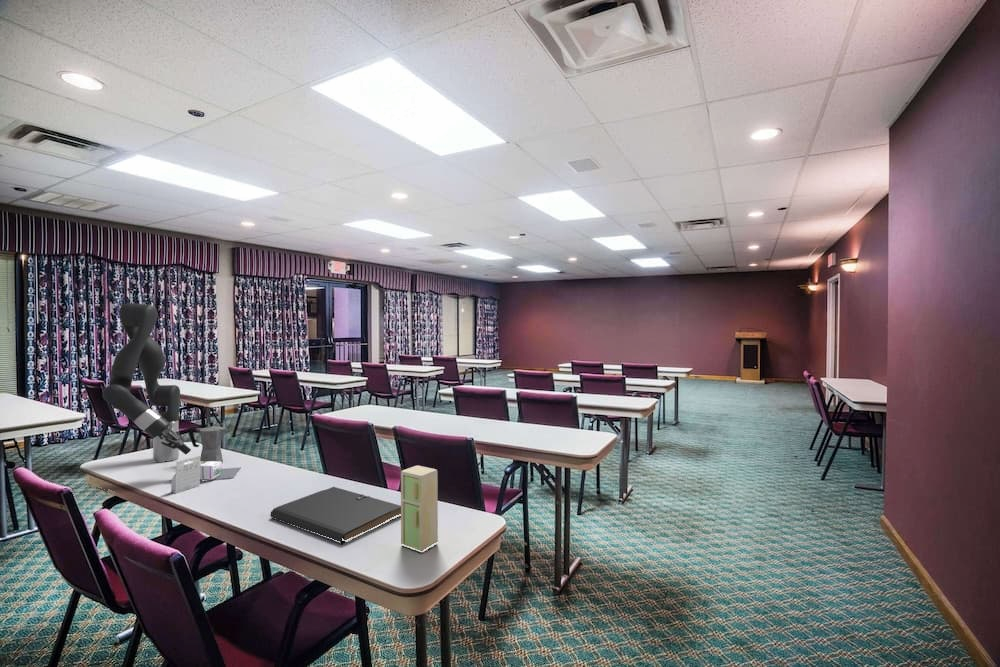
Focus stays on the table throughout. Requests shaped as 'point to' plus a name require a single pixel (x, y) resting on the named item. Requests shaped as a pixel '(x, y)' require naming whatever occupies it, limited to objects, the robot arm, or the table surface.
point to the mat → (227, 473)
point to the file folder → (336, 513)
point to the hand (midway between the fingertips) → (188, 452)
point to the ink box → (186, 475)
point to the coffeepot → (209, 442)
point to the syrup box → (208, 469)
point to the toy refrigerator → (419, 507)
